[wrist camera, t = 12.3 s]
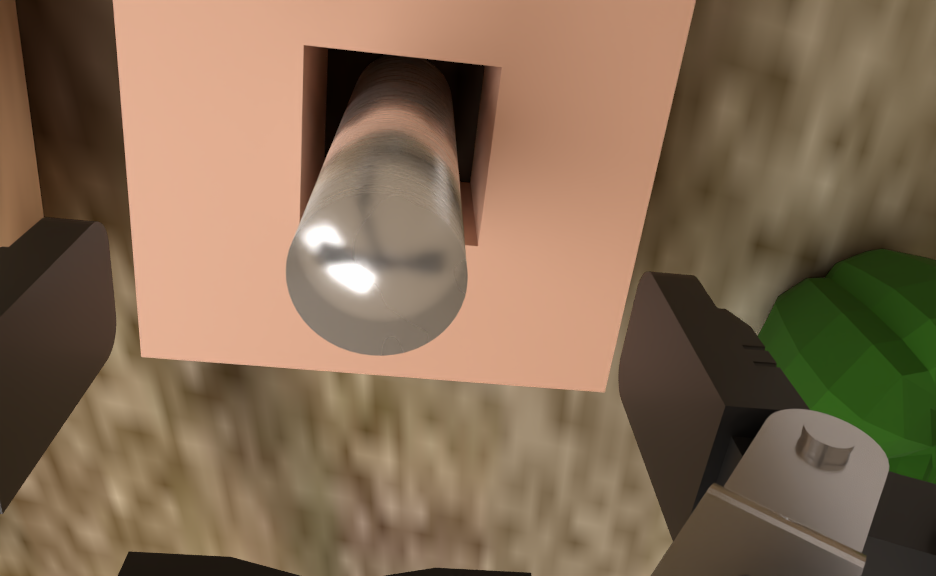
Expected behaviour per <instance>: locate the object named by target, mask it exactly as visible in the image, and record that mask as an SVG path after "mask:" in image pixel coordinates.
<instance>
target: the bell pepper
mask: <svg viewBox="0 0 936 576" xmlns="http://www.w3.org/2000/svg"><path fill="white" fill-rule="evenodd" d="M758 338H759V339H760V340H761V342H762V343H763V345H764V346H765V351H768V352H769V353H770V354H771V356H772V357H773V359H774V360H775V361H776V363H777V367H780V368H781V370H782V371H783V373H784V374H785V375H786V377H787V378H788V380H789V381H790V382H791V384H792V385H793V387H794V388H795V389H796V391H797V392H798V394H799V395H800V396H801V398H802V399H803V401H804V402H805V403H806V405H807V406H808V407H809V409H810V410H812V411H817V412H821V413H824V414H828V415H831V416H833V417H836V418H839V419H841V420H843V421H845V422H848V423H849V424H851V425H853V426H855V427H857V428H858V429H860V430H861V431H863V432H864V433H866V434H867V435H868V436H870V437H871V438H872V439H873V440H874V441H875V442H876V443H877V444H878V445H879V446H880V447H881V448H882V450H883V451H884V452H885V454H886V456H887V458H888V461H889V471H890V472H894V473H897V474H900V475H904V476H908V477H911V478H915V479H919V480H922V481H926V482H930V483H933V484H936V260H933V259H929V258H925V257H921V256H916V255H911V254H906V253H901V252H896V251H891V250H886V249H878V250H872V251H866V252H863V253H861V254H858V255H856V256H853V257H851V258H848V259H846V260H843V261H841V262H838V263H836V264H835V265H834V266H833V268H832V269H831V270H830V271H829V273H828V274H827V275H826V277H825V278H806V279H805V280H803V281H802V282H800V283H799V284H797V285H795V286H794V287H792V288H791V289H789V290H788V291H786V292H785V293H783V294H782V295H780V296H778V298H777V300H776V302H775V304H774V306H773V308H772V310H771V312H770V314H769V316H768V318H767V320H766V322H765V324H764V326H763V327H762V329H761V331H760V333H759V335H758Z"/></svg>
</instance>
